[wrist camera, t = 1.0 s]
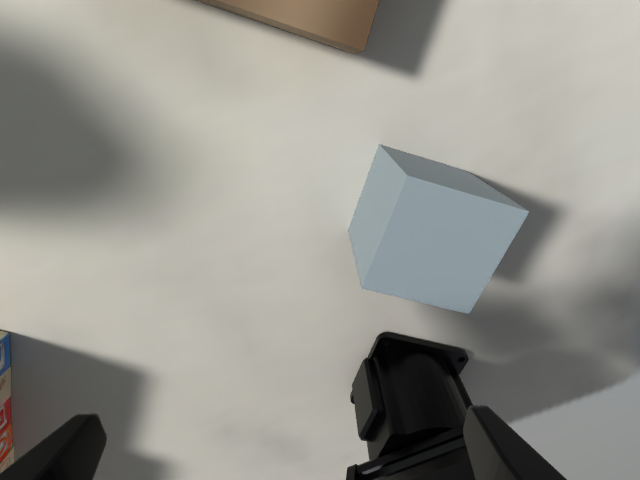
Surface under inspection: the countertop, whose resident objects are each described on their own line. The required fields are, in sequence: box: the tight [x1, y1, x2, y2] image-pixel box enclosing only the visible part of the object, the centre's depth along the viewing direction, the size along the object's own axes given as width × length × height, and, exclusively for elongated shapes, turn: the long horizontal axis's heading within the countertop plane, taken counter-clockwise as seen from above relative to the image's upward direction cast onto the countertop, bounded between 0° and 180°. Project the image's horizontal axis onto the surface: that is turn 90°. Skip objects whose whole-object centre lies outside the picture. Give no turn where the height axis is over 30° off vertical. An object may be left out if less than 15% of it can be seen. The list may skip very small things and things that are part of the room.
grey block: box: [348, 144, 530, 314], centre depth 17 cm, size 5×5×6 cm
